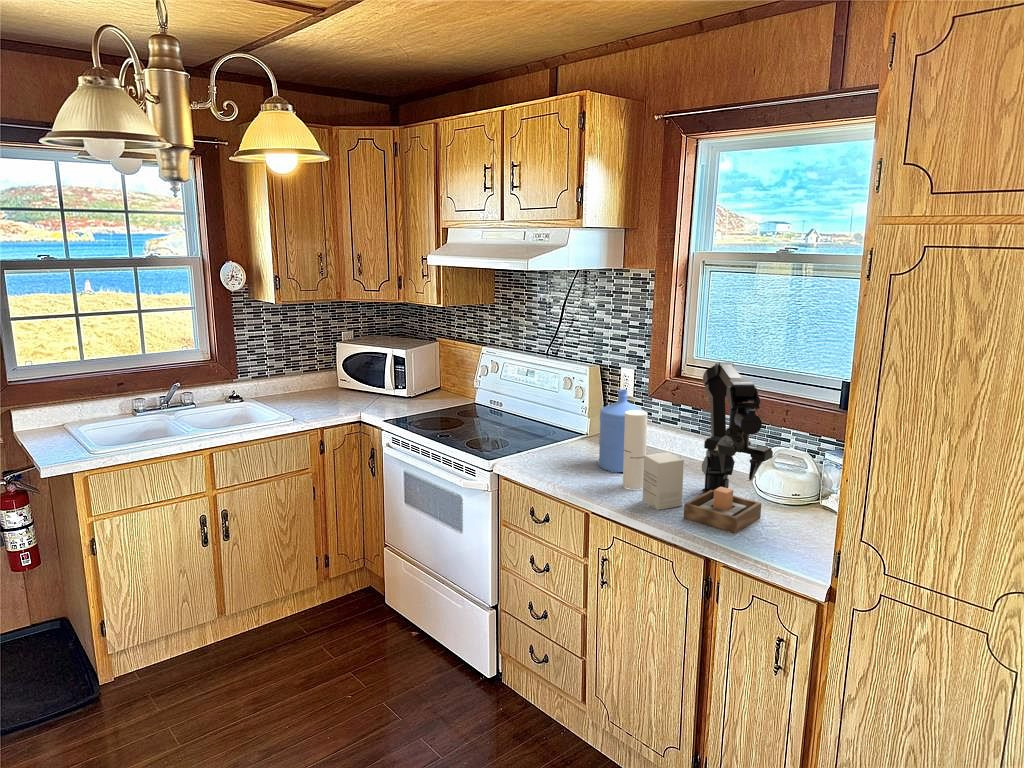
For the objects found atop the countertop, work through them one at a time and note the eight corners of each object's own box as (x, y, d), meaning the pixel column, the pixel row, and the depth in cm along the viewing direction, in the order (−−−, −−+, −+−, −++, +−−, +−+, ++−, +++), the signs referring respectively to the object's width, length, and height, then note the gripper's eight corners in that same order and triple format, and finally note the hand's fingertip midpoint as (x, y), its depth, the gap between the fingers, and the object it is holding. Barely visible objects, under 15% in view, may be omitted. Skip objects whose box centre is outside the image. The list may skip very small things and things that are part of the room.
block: (712, 516, 203) (714, 490, 201) (719, 512, 206) (720, 486, 204) (725, 519, 200) (726, 493, 198) (731, 515, 203) (733, 489, 201)
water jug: (613, 476, 239) (616, 396, 234) (590, 463, 253) (592, 388, 248) (651, 470, 246) (654, 392, 240) (626, 457, 260) (629, 384, 254)
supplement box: (666, 496, 220) (668, 451, 217) (682, 506, 212) (685, 459, 209) (641, 500, 217) (643, 454, 214) (656, 510, 209) (658, 462, 206)
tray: (683, 518, 203) (684, 503, 202) (710, 503, 214) (711, 489, 213) (735, 533, 192) (736, 518, 191) (760, 517, 203) (761, 502, 202)
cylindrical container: (631, 481, 234) (633, 409, 229) (649, 486, 229) (651, 412, 224) (618, 486, 229) (620, 412, 224) (636, 491, 224) (638, 416, 219)
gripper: (695, 424, 201) (692, 475, 204) (757, 437, 188) (753, 491, 191) (715, 417, 208) (712, 466, 212) (775, 429, 195) (771, 481, 199)
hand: (735, 476), depth 203 cm, fingers open, 9 cm apart
